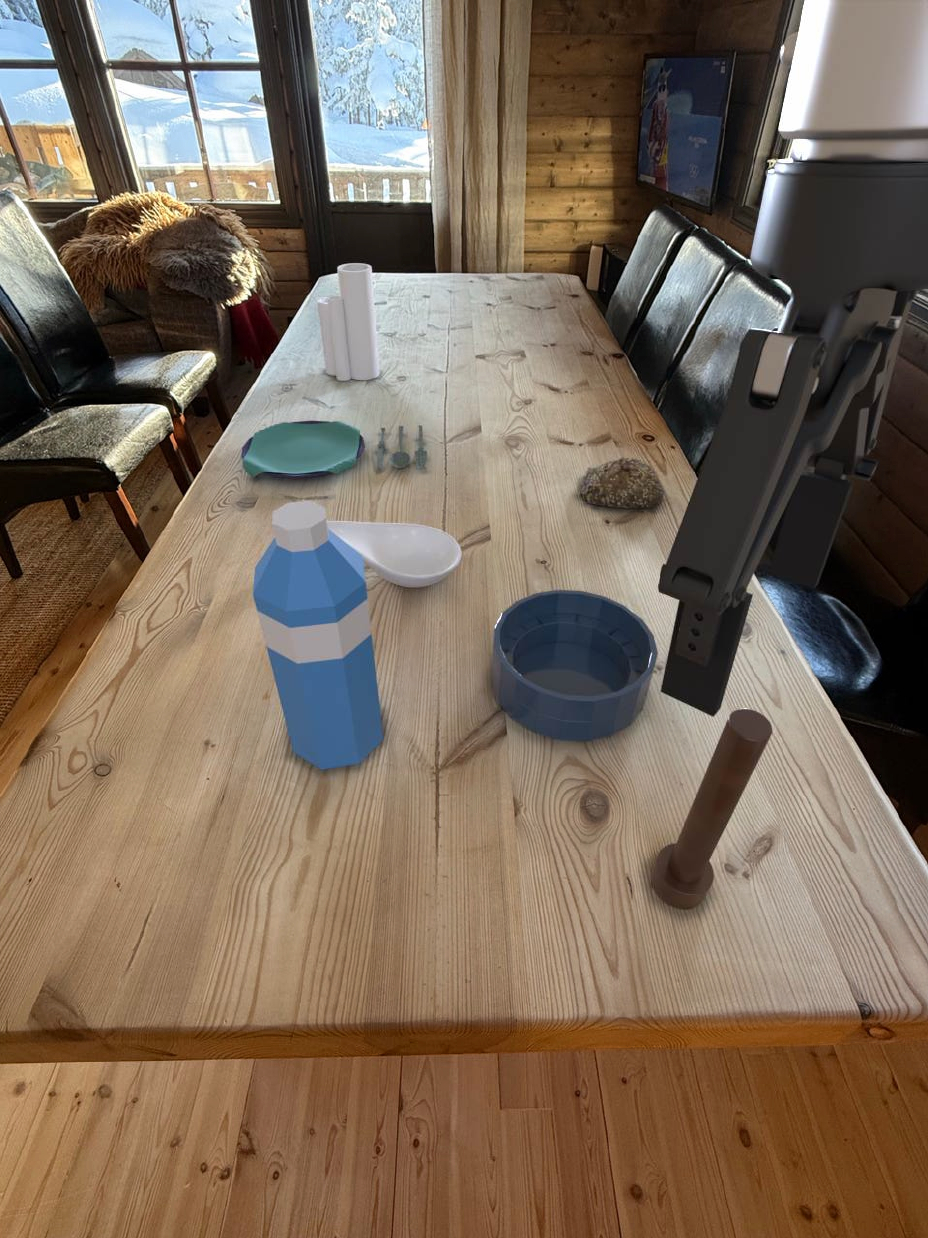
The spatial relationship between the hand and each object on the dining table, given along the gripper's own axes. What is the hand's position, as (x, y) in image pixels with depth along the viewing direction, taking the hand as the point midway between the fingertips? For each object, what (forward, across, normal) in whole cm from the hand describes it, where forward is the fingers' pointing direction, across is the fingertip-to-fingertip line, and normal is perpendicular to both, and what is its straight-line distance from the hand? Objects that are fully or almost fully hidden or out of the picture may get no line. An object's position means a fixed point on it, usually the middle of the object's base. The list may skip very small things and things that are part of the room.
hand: (746, 633), depth 36 cm
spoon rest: (+24, -14, -50) cm, 57 cm away
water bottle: (+26, +6, -33) cm, 42 cm away
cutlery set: (+21, -32, -77) cm, 86 cm away
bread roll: (+23, -54, -37) cm, 70 cm away
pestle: (+28, -2, 0) cm, 28 cm away
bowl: (+26, -15, -20) cm, 36 cm away
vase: (+18, -58, -103) cm, 119 cm away
